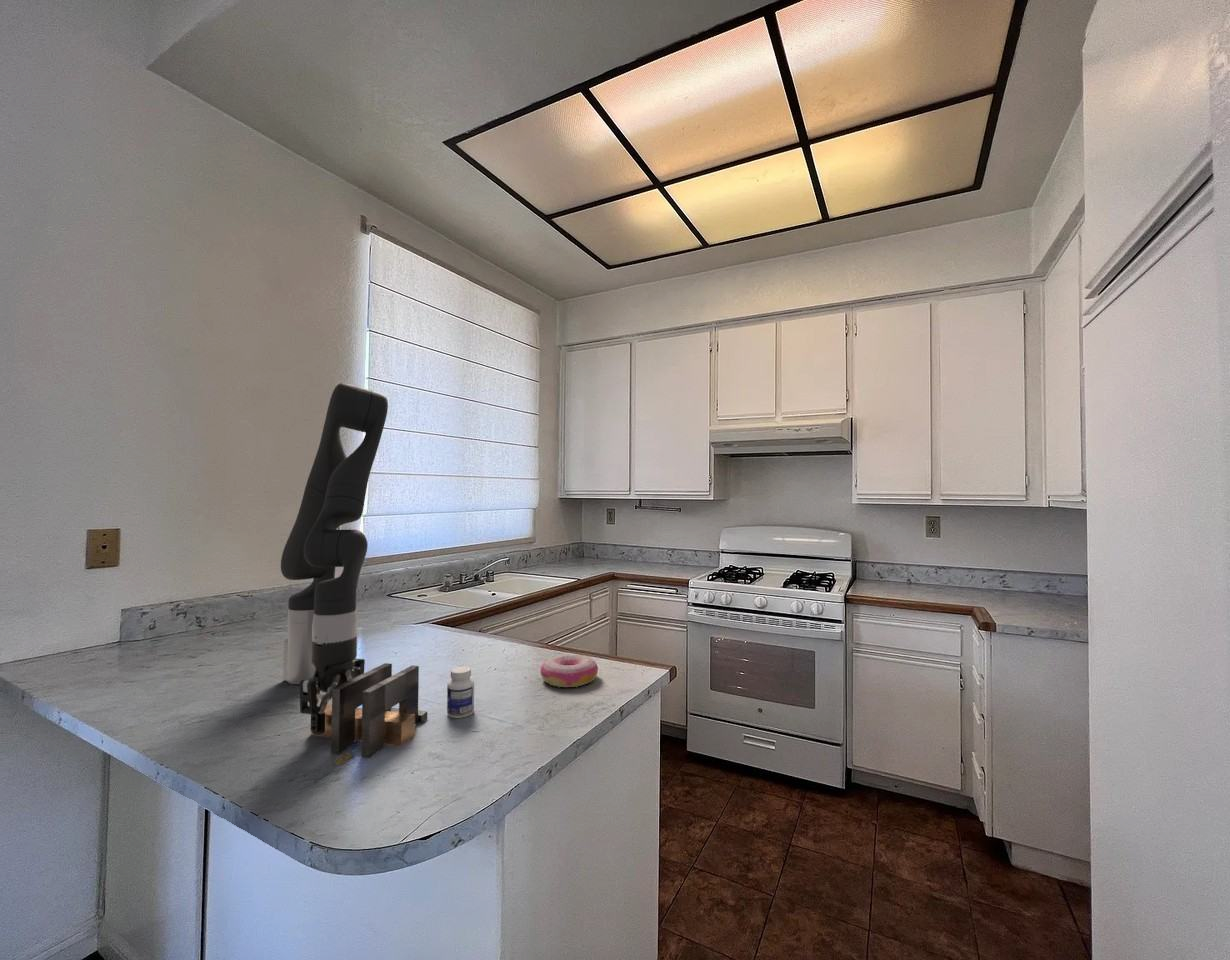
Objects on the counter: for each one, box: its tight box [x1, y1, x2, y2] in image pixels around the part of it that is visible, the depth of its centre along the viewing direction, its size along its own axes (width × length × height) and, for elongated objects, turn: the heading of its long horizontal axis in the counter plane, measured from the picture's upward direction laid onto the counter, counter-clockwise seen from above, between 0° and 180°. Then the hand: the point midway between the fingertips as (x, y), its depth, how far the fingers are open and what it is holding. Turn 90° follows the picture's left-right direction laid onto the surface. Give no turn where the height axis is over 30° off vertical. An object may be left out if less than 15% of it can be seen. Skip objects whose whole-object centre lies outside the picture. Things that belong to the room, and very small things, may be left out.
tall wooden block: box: [310, 704, 416, 747], centre depth 96 cm, size 19×4×4 cm, turn 77°
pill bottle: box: [446, 666, 475, 719], centre depth 106 cm, size 5×5×9 cm
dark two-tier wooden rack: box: [330, 662, 428, 766], centre depth 95 cm, size 9×19×11 cm, turn 167°
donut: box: [540, 653, 599, 688], centre depth 125 cm, size 14×13×5 cm
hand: (333, 724), depth 98 cm, fingers open, 6 cm apart
